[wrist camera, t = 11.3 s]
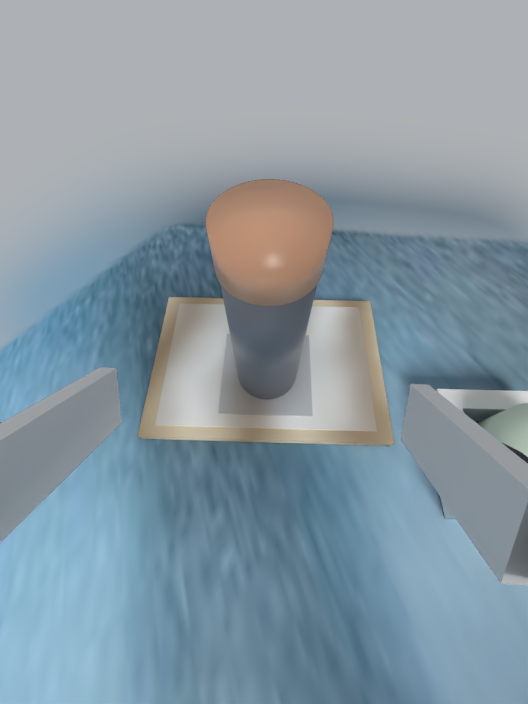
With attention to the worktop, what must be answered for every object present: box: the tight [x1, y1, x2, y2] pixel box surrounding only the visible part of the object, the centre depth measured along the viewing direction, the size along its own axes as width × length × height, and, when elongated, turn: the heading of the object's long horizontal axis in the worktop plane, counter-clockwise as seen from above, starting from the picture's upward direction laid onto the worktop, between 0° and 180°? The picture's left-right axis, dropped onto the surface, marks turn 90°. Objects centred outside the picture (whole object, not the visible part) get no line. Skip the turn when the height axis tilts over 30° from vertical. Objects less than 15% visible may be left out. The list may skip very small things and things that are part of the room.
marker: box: [206, 179, 333, 400], centre depth 15 cm, size 4×4×12 cm
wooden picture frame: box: [138, 297, 394, 446], centre depth 22 cm, size 16×11×1 cm
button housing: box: [436, 389, 528, 519], centre depth 18 cm, size 7×7×2 cm
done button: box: [477, 403, 528, 457], centre depth 16 cm, size 4×4×3 cm
